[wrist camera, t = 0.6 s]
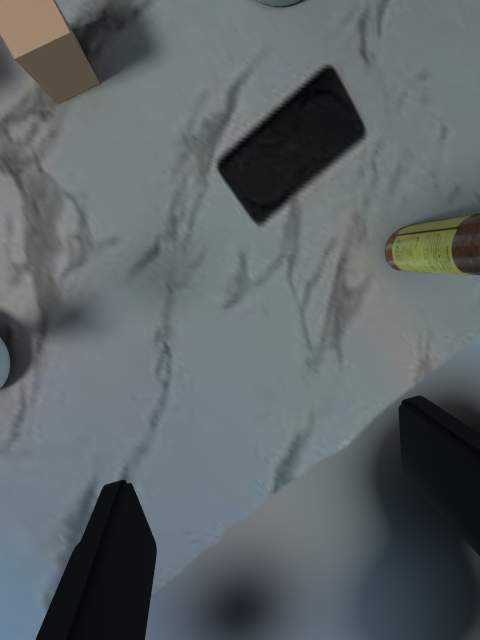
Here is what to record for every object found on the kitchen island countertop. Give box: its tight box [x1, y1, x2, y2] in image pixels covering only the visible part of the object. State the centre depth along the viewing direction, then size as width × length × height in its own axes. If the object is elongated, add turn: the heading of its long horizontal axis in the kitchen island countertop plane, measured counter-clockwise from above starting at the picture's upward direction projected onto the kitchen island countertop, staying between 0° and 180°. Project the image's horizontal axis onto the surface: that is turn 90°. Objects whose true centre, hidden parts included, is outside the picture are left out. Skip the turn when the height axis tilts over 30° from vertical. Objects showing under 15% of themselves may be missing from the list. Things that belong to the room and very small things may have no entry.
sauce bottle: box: [385, 214, 480, 275], centre depth 29 cm, size 7×6×20 cm
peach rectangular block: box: [0, 0, 100, 104], centre depth 25 cm, size 5×5×7 cm
